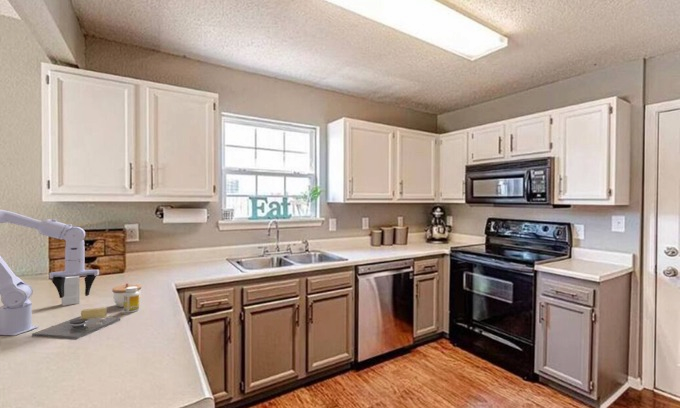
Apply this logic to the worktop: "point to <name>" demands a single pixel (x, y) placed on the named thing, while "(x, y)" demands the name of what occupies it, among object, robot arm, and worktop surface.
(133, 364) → the worktop surface
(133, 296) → the supplement bottle
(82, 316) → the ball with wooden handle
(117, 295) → the lidded jar
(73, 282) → the skincare box
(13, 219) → the robot arm
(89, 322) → the base plate
